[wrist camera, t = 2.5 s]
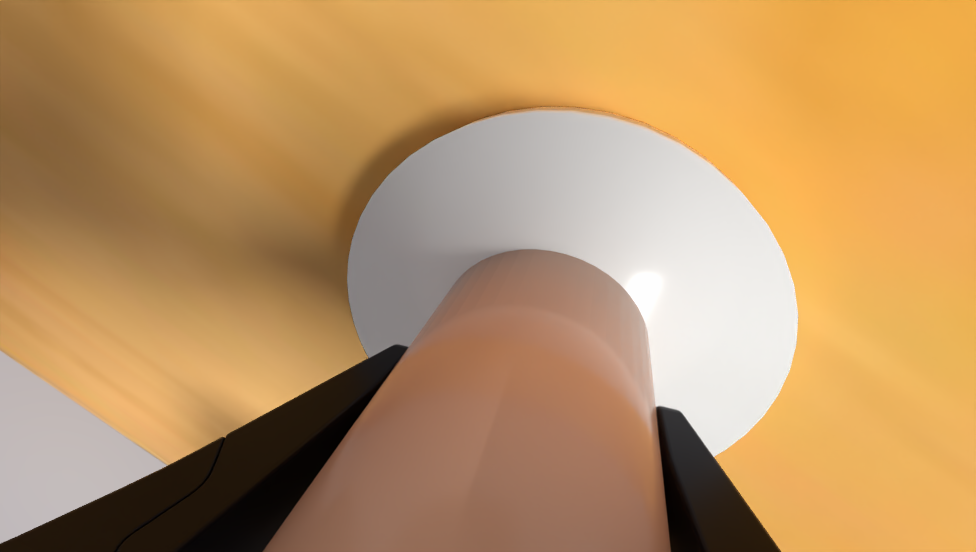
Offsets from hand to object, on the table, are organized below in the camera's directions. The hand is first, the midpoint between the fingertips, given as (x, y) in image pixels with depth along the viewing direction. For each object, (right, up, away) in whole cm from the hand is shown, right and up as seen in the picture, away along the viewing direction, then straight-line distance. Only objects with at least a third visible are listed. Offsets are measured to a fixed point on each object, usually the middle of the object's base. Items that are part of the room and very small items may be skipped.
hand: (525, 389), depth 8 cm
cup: (0, +1, +1) cm, 2 cm away
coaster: (+1, +1, +2) cm, 2 cm away
